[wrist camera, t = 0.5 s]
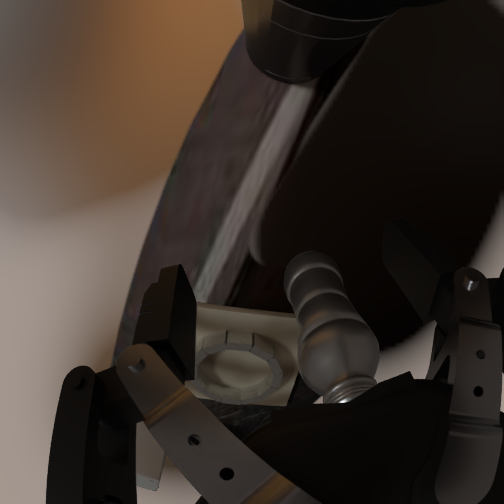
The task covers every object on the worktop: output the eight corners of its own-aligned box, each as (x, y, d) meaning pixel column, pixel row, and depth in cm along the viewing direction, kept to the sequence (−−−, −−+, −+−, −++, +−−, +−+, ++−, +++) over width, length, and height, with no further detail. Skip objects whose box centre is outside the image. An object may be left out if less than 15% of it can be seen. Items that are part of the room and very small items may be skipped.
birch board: (172, 298, 35) (170, 302, 34) (313, 315, 35) (315, 320, 34) (176, 389, 41) (174, 393, 41) (285, 401, 42) (285, 406, 41)
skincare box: (142, 396, 43) (118, 467, 28) (178, 407, 44) (161, 481, 29) (140, 417, 46) (119, 481, 31) (171, 428, 47) (156, 493, 32)
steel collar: (191, 324, 35) (188, 336, 33) (288, 335, 35) (290, 348, 33) (191, 386, 40) (188, 398, 37) (271, 395, 40) (272, 407, 38)
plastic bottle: (332, 240, 31) (412, 365, 13) (337, 290, 34) (396, 425, 15) (276, 251, 32) (300, 394, 14) (286, 301, 35) (309, 447, 16)
